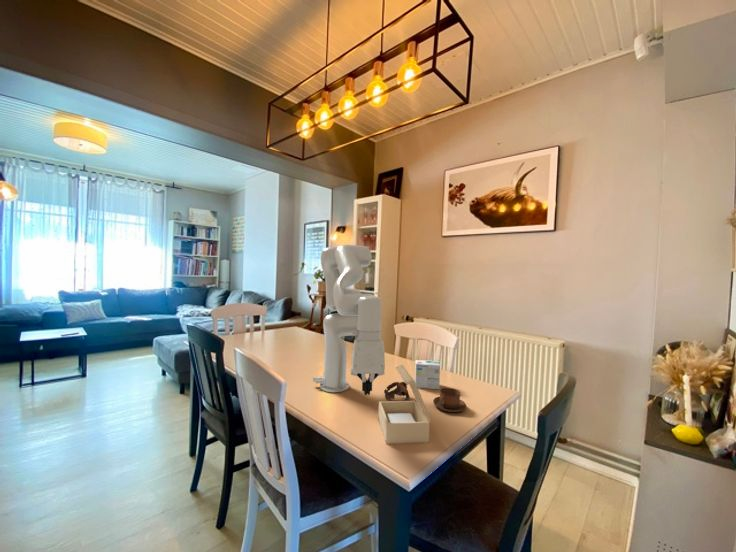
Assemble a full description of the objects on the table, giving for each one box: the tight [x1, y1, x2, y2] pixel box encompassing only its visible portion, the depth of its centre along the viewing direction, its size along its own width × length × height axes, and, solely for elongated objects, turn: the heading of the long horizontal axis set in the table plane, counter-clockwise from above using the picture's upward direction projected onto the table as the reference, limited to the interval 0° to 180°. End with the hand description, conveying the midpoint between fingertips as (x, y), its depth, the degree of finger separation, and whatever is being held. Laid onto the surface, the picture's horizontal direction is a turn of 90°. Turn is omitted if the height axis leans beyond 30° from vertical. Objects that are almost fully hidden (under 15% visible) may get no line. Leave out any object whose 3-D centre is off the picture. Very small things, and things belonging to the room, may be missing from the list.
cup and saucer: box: [433, 387, 467, 413], centre depth 116 cm, size 12×12×6 cm
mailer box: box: [377, 400, 430, 445], centre depth 99 cm, size 13×15×6 cm
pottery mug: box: [383, 381, 412, 401], centre depth 121 cm, size 12×9×8 cm
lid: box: [395, 364, 432, 422], centre depth 99 cm, size 14×15×3 cm
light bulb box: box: [414, 359, 441, 390], centre depth 137 cm, size 11×7×11 cm, turn 84°
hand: (366, 393), depth 97 cm, fingers closed
